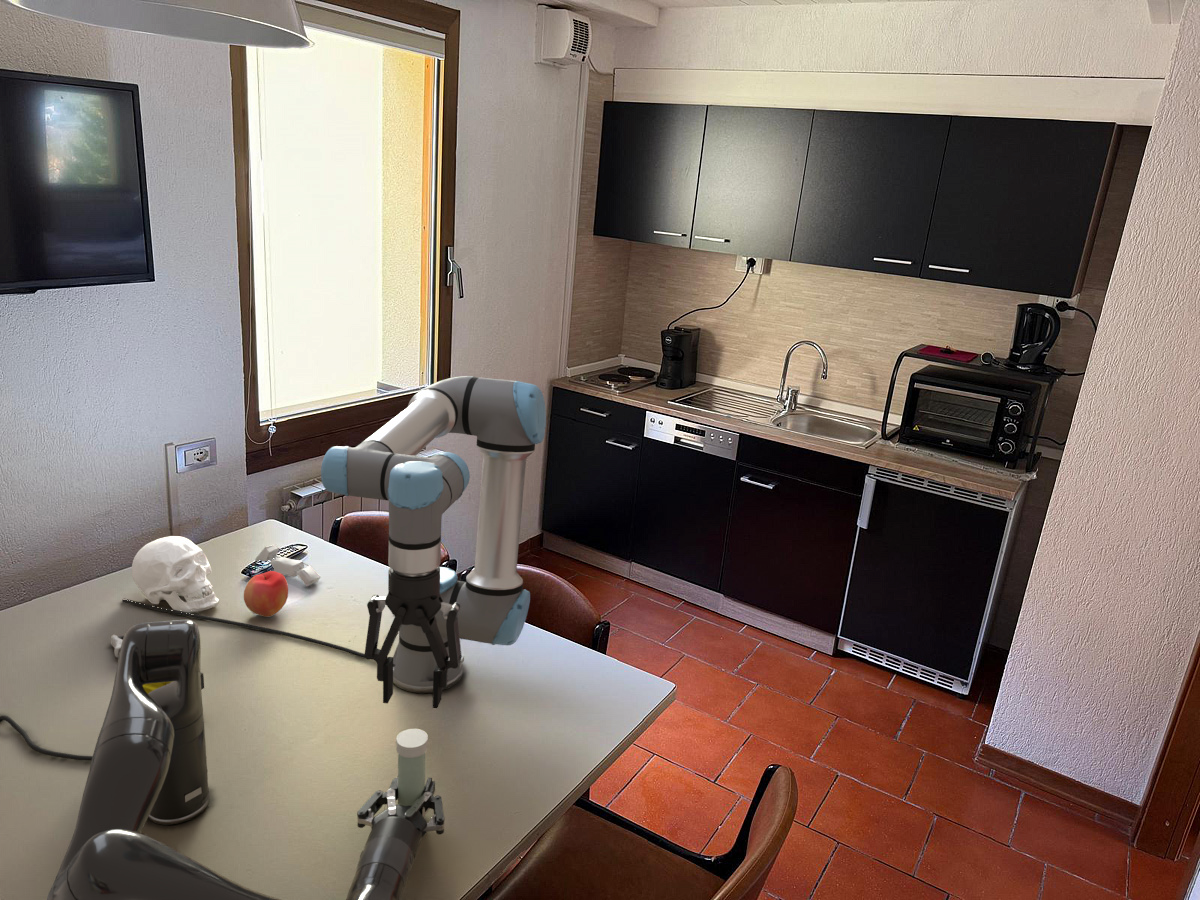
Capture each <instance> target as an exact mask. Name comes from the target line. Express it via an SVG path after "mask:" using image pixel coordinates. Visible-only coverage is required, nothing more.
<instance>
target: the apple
mask: <svg viewBox="0 0 1200 900" xmlns="http://www.w3.org/2000/svg"><path fill="white" fill-rule="evenodd" d="M288 597H289V584H288V581H287V579H286V577H285V575H282V574H281V573H278V572H275V571H268V570H267V571H266V572H264V573H259V574H255V575H254V576H253V577H251V578H250V579H249V580H248V582H247V583H246V585H245V587H244V590H243V601H244V604H245V607H247V609H248V610H249V611H250V612H252V613H253V614H255V615H257V616H261V617H265V618H269V617H273V616H275V615H276V614H278V613H279V612H280V611H281V610H282V609H283V607H284V606H285V605H286V603H287V600H288Z"/></svg>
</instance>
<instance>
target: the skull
mask: <svg viewBox="0 0 1200 900" xmlns="http://www.w3.org/2000/svg"><path fill="white" fill-rule="evenodd" d="M131 574H132V579H133V581H134V583H135V585H136V586H137V588H138V589H139V590H140V591H141V593H142V594H143V596H144V597H145V598H146V599H147V601H149V602H150V603H151V605H159V603H160V601H166V603H168V605H169V607H171V609H172V610H177V611H180V610H182V612H187V613H192V614H194V613H199V612H202V611H206V610H209V609H211V608H214V607H216V606H218V604H219V603H220V601H219V600H220V599H219V598H218V597H217V596H216V593H215V591H214V590H213V588H214V586H213V585H212V583H211V582H210V581H209V579H208V578H207V577H208V575H210V574H212V567H211V564H210V562H209V560H208V558H207V555H206V554H205V552H204V551H203V549H201V548H200V547H199V546H198V545H196V544H195V543H194V542H193V541H192V540H191V539H189V538H187V537H184V536H181V535H180V536H178V535H169V536H164V537H160V538H157V539H154V540H152V541H150V542H148V543H146V544H144V545H143V546H142V547H141V548H140V549H139V550H138V551H137V553H136V554H135V556H134V557H133V560H132V564H131ZM177 593H178V594H177ZM179 596H181V597H184V600H185V601H184V600H182V599H181V598H180V597H179ZM191 610H192V611H191Z"/></svg>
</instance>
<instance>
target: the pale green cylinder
mask: <svg viewBox="0 0 1200 900" xmlns="http://www.w3.org/2000/svg"><path fill="white" fill-rule="evenodd" d="M426 753H427V751H426V752H425V753H424V754H423V755H421V756H418V757H414V758H407V757H403V756H401V755H399V754H398V753H397V762H398V763H397V777H398V799H397V804H398V805H403V806H412V805H413V804H414V802H415V801H416V800H417V799H420V798H421V796H422V795H423V790H424V788H425V785H426V755H427V754H426Z"/></svg>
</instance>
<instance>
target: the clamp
mask: <svg viewBox="0 0 1200 900" xmlns="http://www.w3.org/2000/svg"><path fill="white" fill-rule="evenodd" d="M280 549H281V547H279V546H278V545H277V544H272V545H266V546H264V547H263V549H262V550H261V551H260V552H259V554H258V555H257V556H256V557H255V559H254V562H255V563H256V561H259V560H262V561H268V560H271V562H270V563H269V564H271V565H272V566H273V568H274V571H275V572H278V573H281V574H282V575H283V576H288V577H292V578H296V577H298V578H299V579H300V580H301V582H303V584H304V585H305V587H309V586H312V585H314V584H316V583H318V582H319V580H320V579H321V578H322V577H321V575H320V574H319V573H318V572H317V570H315V569H314V568H313V566H312V565H310V564H309V565H308V564H307V563H305V562H304V561H303V560H301V559H300V560H299V559H292V558H289V557H285V556H278V553H279V551H280ZM273 558H274V559H273ZM272 559H273V560H272ZM305 566H306V567H305ZM270 571H271V570H270Z"/></svg>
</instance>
